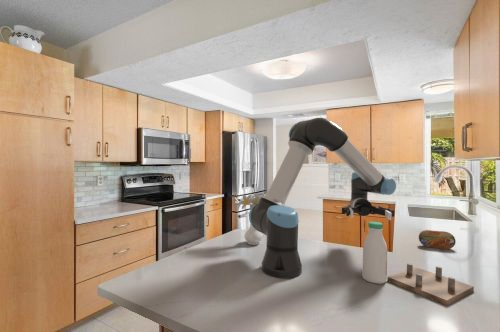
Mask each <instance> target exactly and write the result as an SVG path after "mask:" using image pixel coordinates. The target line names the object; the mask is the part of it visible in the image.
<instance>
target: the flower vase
mask: <svg viewBox="0 0 500 332" xmlns="http://www.w3.org/2000/svg"><path fill="white" fill-rule="evenodd" d="M265 195H267V193H266V192H265V193H264V194H263V193H262V194H258V193H257V192H254V193H253V194H252V193H250V194H249V195H247V196H246V195H245V194H242V200H238V198H236V197H234V198H235V201H234V204H235V205H236V206H237V207H236V211H237V212H239V210H240V207H241V209H242V210H243V209H245V207H246V206H249V211H250V210H251V208H252V207H253V206H254V205H256V204H258V203H259V201H260V199H261V197H262V196H265ZM241 205H242V206H241ZM243 237H244V239H245V240H246V241H247V244H249V246H250V245H252V246H255V245H260V244H261V243H260V242H261V241H263V238H264V234H263V233H261V232H259V231H257V230H256V229H255V228H254V227H253V226H252V225H251V223H250V225H249V228H247V231H245V233H244V236H243Z"/></svg>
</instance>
